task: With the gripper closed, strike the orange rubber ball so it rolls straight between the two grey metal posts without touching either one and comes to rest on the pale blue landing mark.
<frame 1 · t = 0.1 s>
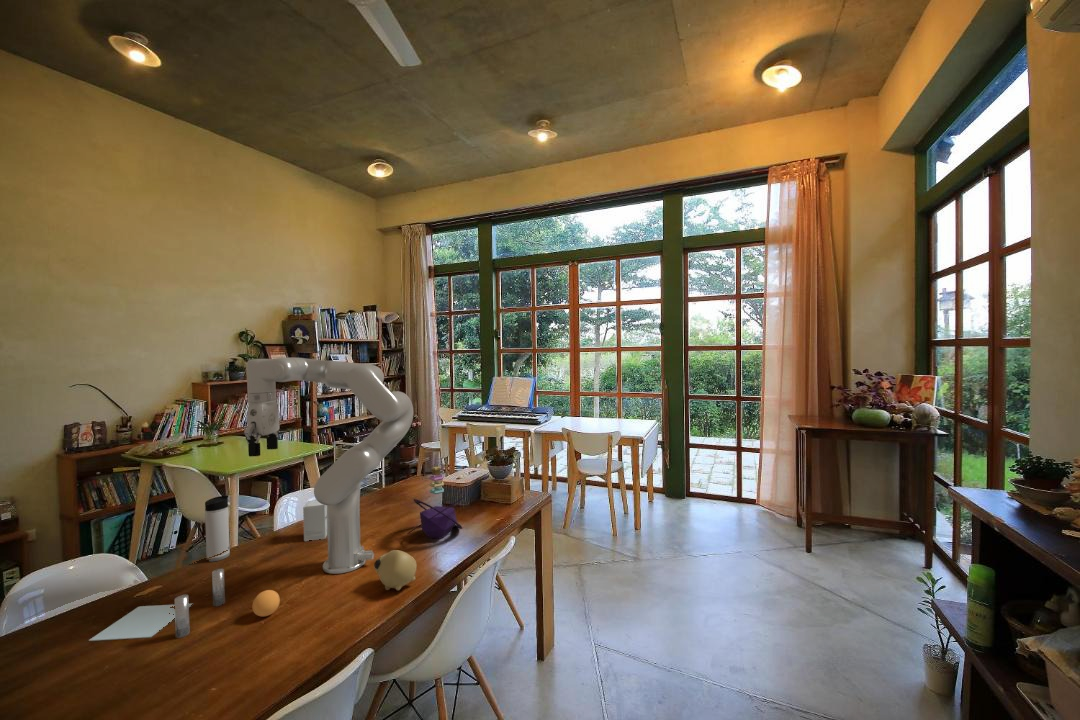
hand: (263, 452, 138), 37 cm above the table, tool pointing down, fingers open, 9 cm apart
landing mark: (144, 621, 112), on the table
toy pig: (396, 586, 126), on the table
ball: (266, 603, 113), on the table
post left: (182, 634, 106), on the table
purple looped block: (438, 535, 162), on the table
travel mug: (218, 557, 147), on the table
post right: (219, 603, 119), on the table
supplement box: (317, 537, 163), on the table
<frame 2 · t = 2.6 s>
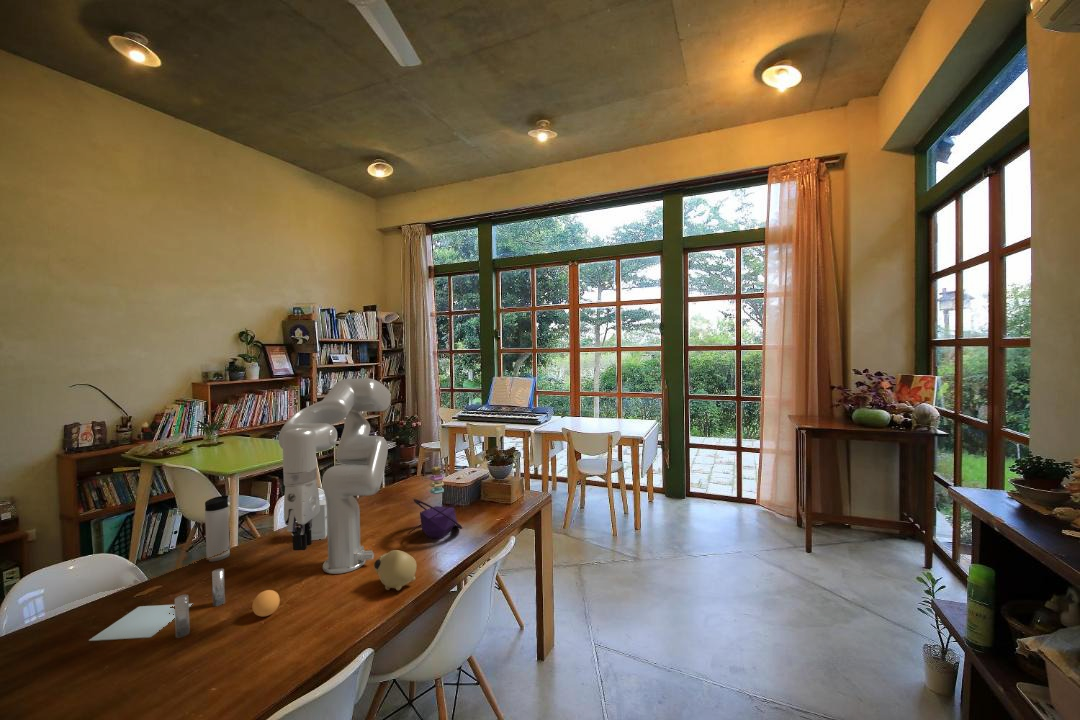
hand: (302, 546, 114), 17 cm above the table, tool pointing down, fingers closed
nothing on the table moved.
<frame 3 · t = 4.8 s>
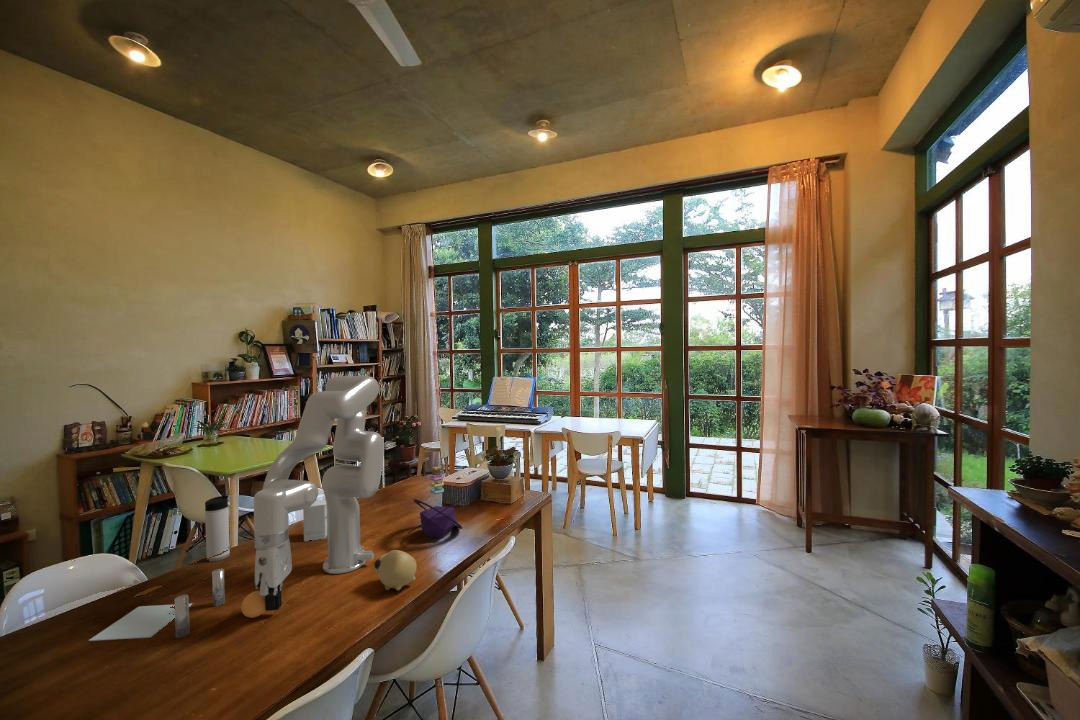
hand: (273, 608, 113), 2 cm above the table, tool pointing down, fingers closed
ball: (255, 604, 113), on the table
everything else where it was.
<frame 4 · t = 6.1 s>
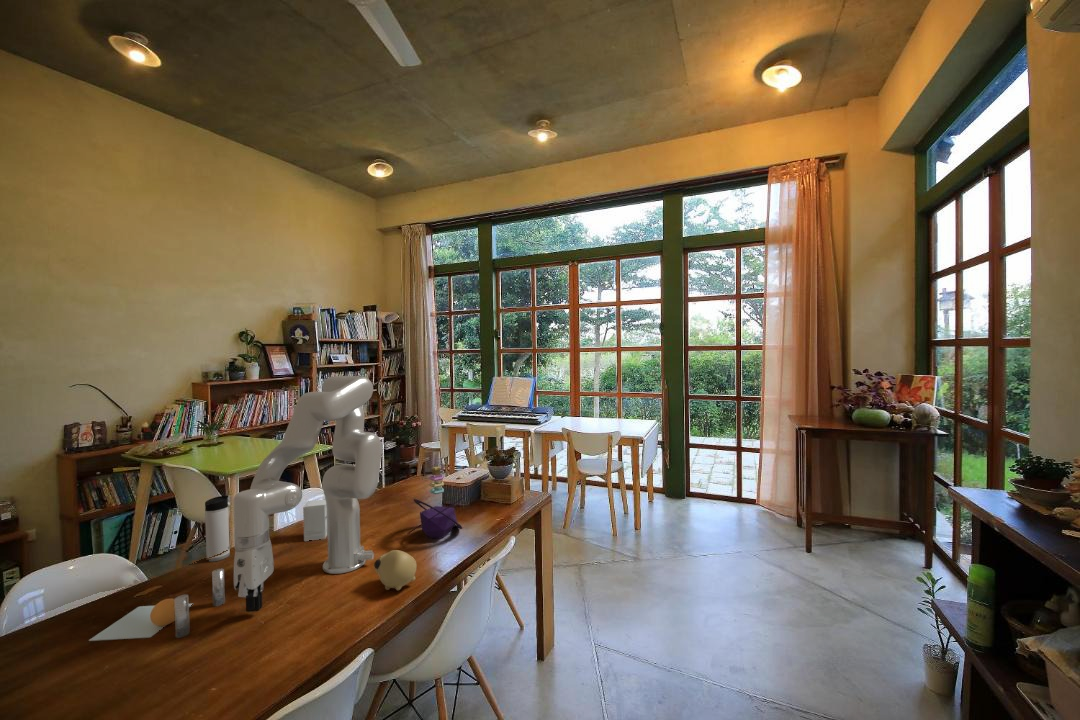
hand: (254, 609, 113), 2 cm above the table, tool pointing down, fingers closed
ball: (166, 612, 110), on the table
everything else where it was.
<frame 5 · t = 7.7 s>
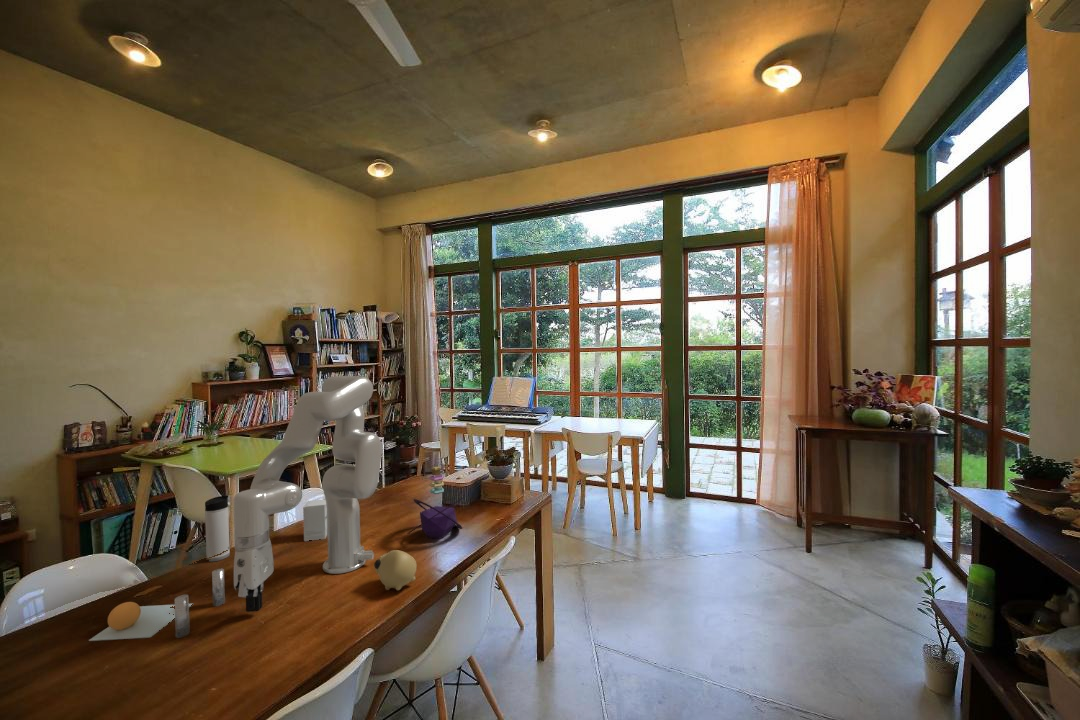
hand: (254, 609, 113), 2 cm above the table, tool pointing down, fingers closed
ball: (124, 615, 109), on the table
everything else where it was.
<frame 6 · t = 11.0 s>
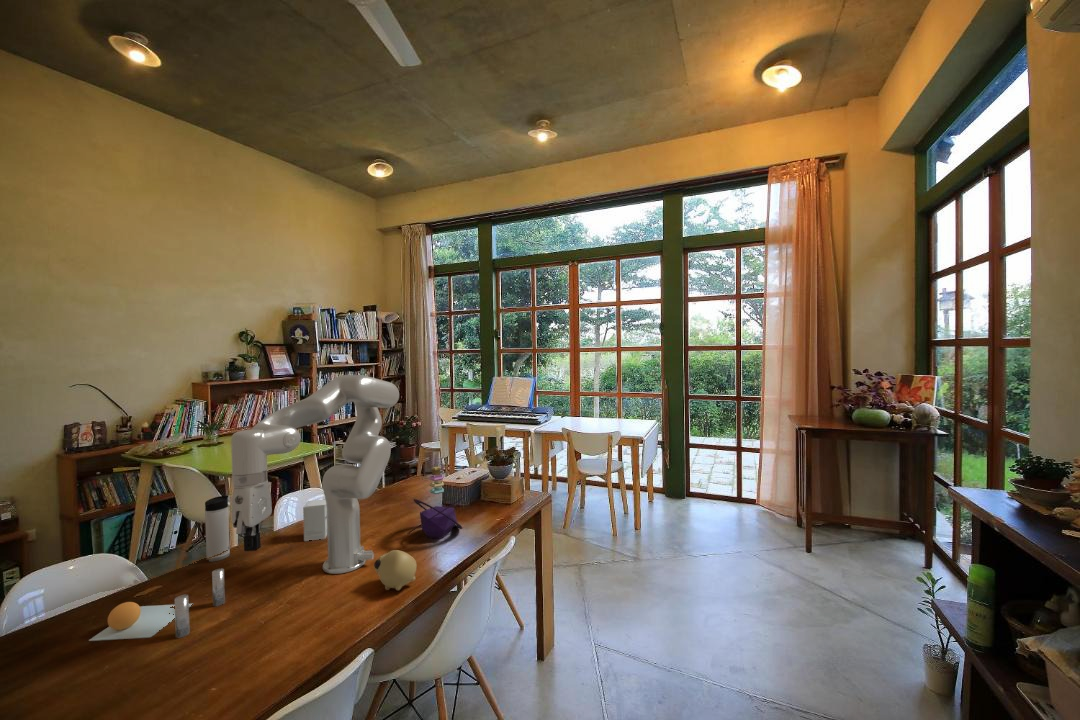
hand: (252, 549, 113), 17 cm above the table, tool pointing down, fingers closed
nothing on the table moved.
at the end: ball 3.6 cm from the landing mark (horizontally); ball never touched post left; ball never touched post right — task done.
